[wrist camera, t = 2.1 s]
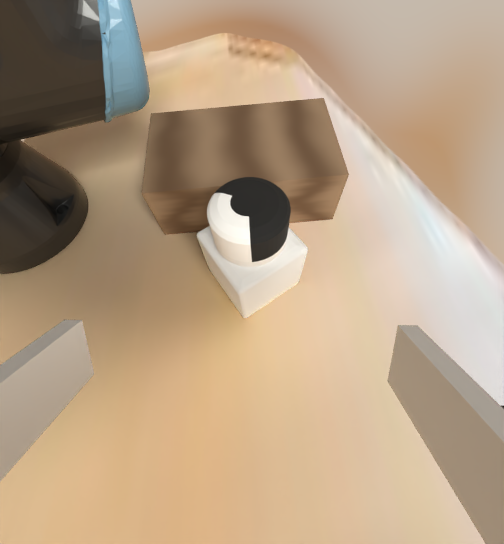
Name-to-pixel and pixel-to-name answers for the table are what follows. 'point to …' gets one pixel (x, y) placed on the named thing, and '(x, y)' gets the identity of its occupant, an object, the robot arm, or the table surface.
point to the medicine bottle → (252, 243)
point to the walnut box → (242, 159)
